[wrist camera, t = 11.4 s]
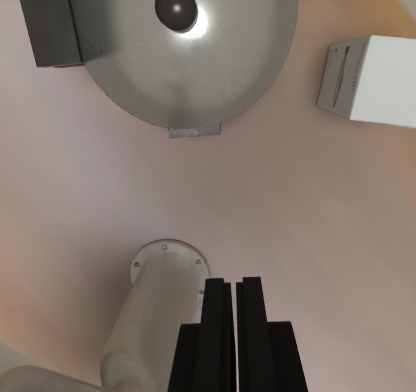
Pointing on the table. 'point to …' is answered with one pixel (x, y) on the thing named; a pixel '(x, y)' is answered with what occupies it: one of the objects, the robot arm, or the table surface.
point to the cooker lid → (168, 52)
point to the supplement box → (372, 80)
